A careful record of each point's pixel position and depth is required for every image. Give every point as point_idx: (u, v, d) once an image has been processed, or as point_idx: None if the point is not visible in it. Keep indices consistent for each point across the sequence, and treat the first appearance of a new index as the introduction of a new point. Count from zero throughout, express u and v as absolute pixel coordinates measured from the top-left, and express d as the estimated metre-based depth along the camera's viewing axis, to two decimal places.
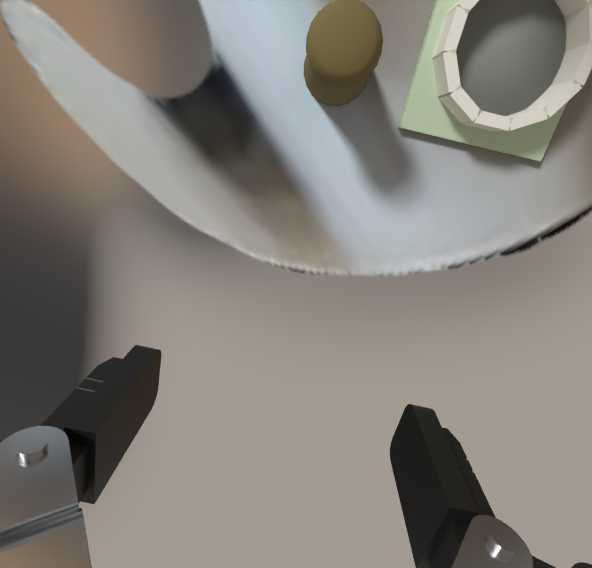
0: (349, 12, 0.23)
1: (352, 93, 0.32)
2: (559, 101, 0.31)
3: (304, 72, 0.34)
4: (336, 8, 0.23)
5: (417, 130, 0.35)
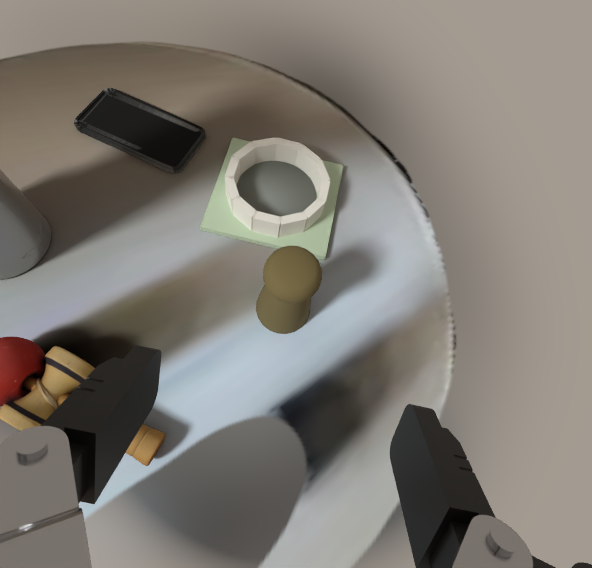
0: (277, 264, 0.31)
1: None
2: (310, 154, 0.45)
3: (286, 331, 0.40)
4: (273, 274, 0.31)
5: (327, 244, 0.44)
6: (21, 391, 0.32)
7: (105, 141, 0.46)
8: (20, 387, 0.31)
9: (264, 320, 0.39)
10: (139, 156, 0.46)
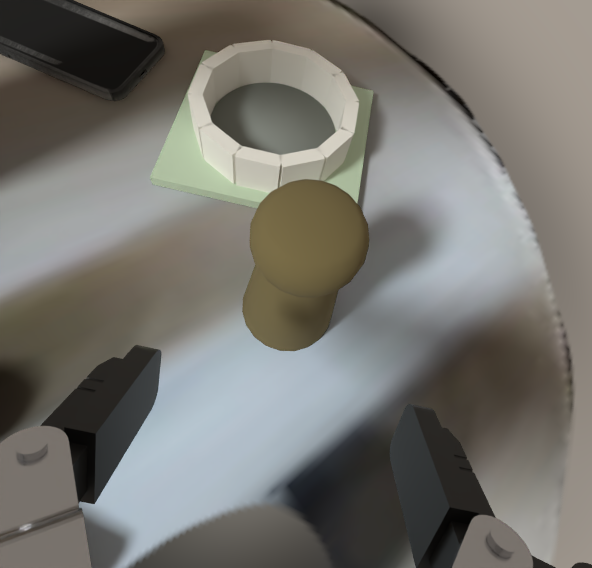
0: (278, 213, 0.15)
1: None
2: (326, 65, 0.28)
3: (294, 347, 0.23)
4: (271, 233, 0.14)
5: None
6: None
7: (3, 53, 0.30)
8: None
9: (255, 329, 0.23)
10: (57, 74, 0.29)
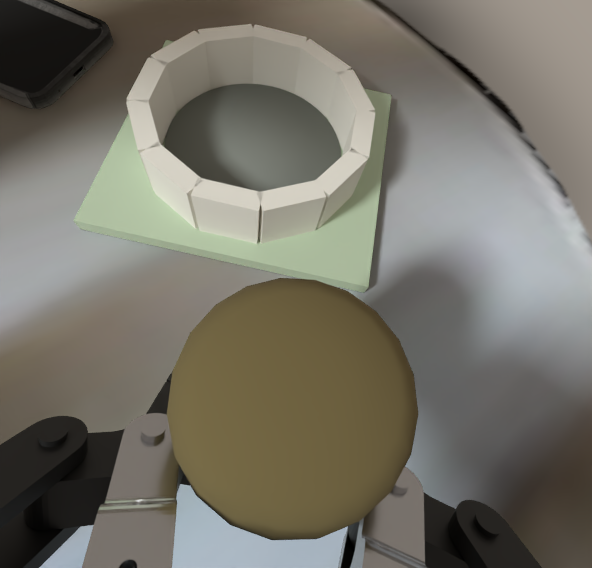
0: (218, 379, 0.06)
1: None
2: (329, 59, 0.20)
3: None
4: (201, 429, 0.06)
5: (370, 257, 0.19)
6: None
7: None
8: None
9: None
10: None
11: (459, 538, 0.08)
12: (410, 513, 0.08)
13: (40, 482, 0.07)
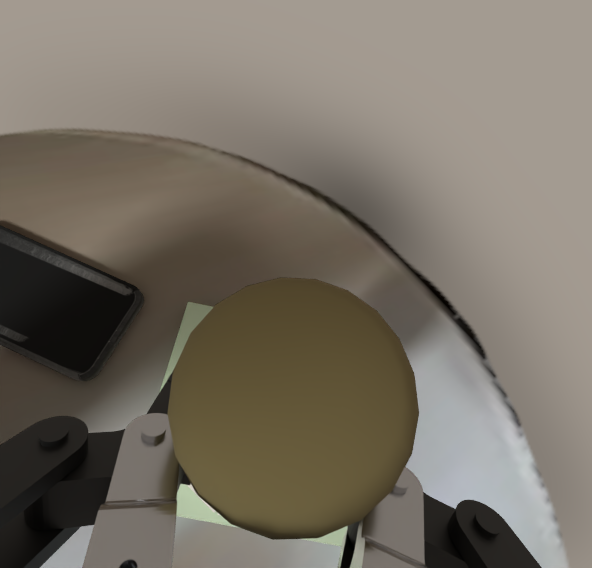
0: (220, 378, 0.06)
1: None
2: None
3: None
4: (201, 429, 0.06)
5: None
6: None
7: None
8: None
9: None
10: (22, 354, 0.26)
11: (459, 538, 0.08)
12: (409, 513, 0.08)
13: (40, 482, 0.07)
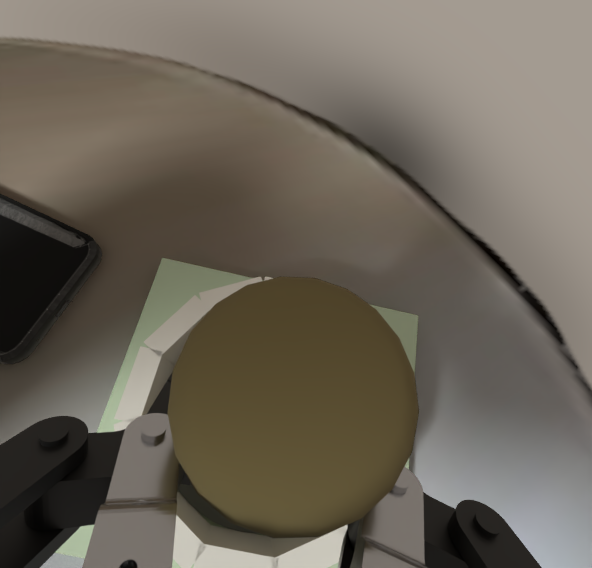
0: (219, 377, 0.06)
1: None
2: None
3: None
4: (201, 428, 0.06)
5: None
6: None
7: None
8: None
9: None
10: None
11: (459, 538, 0.08)
12: (410, 513, 0.08)
13: (41, 482, 0.07)
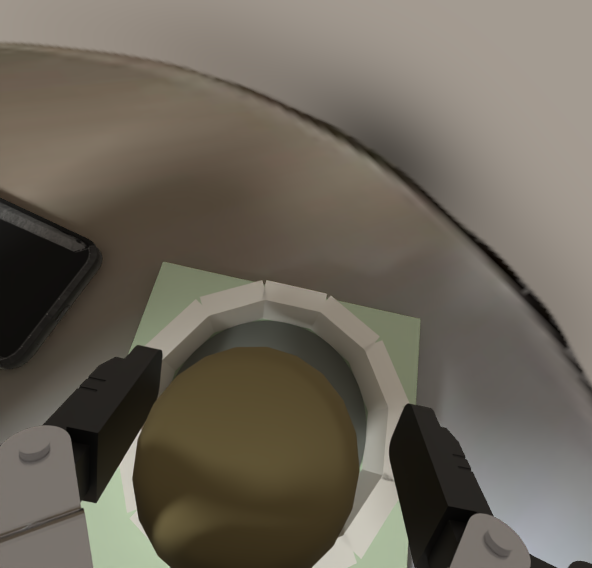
0: (173, 451, 0.07)
1: None
2: (353, 326, 0.17)
3: None
4: (157, 499, 0.07)
5: None
6: None
7: None
8: None
9: None
10: None
11: None
12: None
13: None
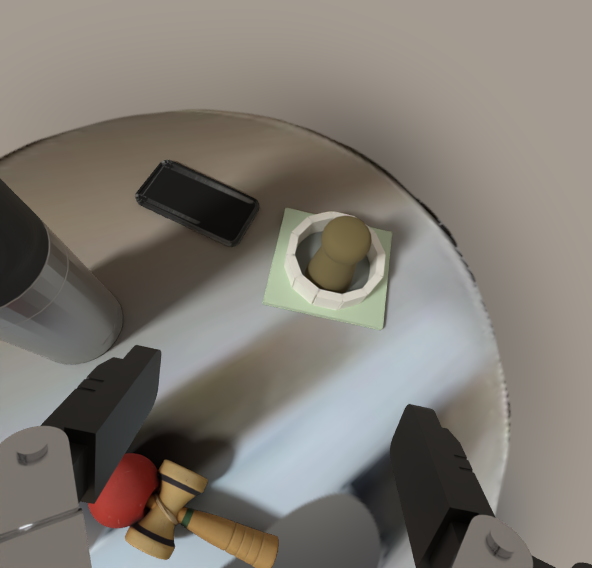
0: (335, 230, 0.37)
1: None
2: None
3: None
4: (333, 238, 0.36)
5: (383, 315, 0.46)
6: (143, 511, 0.33)
7: (164, 215, 0.48)
8: (143, 508, 0.33)
9: None
10: (198, 230, 0.48)
11: None
12: None
13: None
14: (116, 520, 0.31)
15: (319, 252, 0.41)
